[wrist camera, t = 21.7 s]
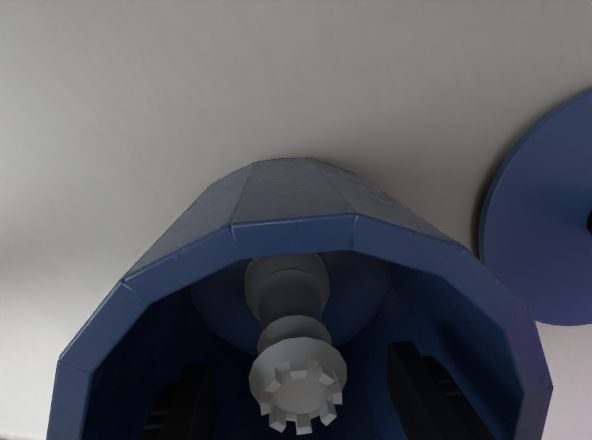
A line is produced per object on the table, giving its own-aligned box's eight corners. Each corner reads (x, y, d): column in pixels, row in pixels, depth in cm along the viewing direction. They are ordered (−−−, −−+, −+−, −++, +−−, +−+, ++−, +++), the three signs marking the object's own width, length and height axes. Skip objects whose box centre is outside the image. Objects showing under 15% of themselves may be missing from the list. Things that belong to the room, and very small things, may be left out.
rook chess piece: (320, 314, 18) (360, 457, 10) (241, 310, 17) (222, 457, 10) (332, 242, 17) (387, 344, 9) (247, 235, 16) (230, 338, 9)
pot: (405, 148, 16) (600, 192, 6) (397, 352, 20) (512, 567, 10) (153, 168, 15) (-43, 247, 6) (195, 373, 19) (120, 621, 10)
